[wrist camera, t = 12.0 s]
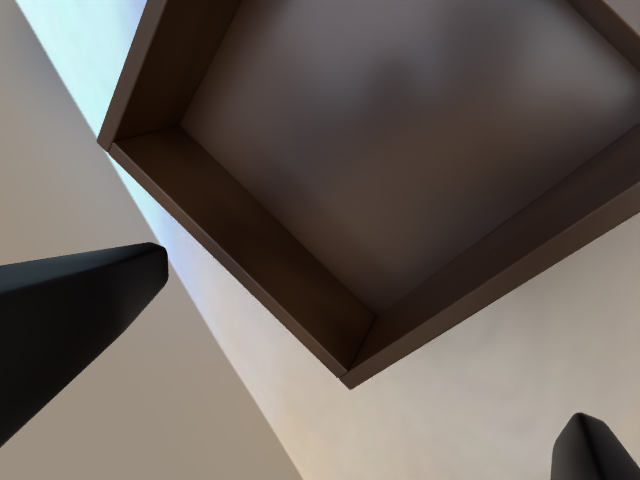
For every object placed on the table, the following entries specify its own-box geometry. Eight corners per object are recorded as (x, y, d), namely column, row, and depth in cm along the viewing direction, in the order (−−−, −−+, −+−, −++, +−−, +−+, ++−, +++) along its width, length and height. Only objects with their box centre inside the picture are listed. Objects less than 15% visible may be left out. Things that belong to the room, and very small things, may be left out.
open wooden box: (705, 96, 14) (789, 121, 9) (380, 327, 23) (350, 391, 19) (352, -248, 14) (279, -374, 10) (171, 123, 23) (95, 141, 19)
